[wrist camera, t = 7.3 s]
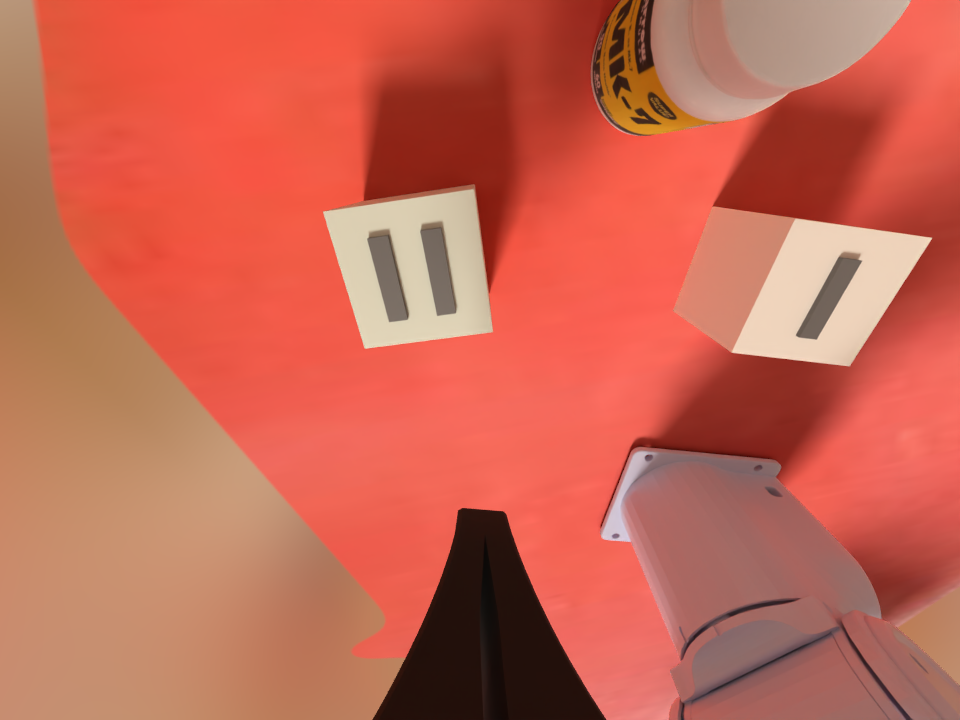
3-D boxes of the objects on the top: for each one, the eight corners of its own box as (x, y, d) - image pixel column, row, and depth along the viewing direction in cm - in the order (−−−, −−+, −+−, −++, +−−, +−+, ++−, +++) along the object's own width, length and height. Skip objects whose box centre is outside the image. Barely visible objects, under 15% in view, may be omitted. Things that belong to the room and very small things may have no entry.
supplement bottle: (570, 30, 14) (679, -133, 7) (697, -47, 13) (994, -338, 6) (609, 159, 16) (726, 150, 8) (721, 101, 15) (964, 33, 8)
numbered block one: (814, 220, 17) (939, 239, 13) (764, 321, 19) (853, 368, 15) (711, 206, 17) (799, 219, 12) (672, 310, 19) (734, 354, 15)
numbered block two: (474, 184, 16) (474, 189, 12) (489, 293, 19) (493, 334, 14) (364, 200, 17) (320, 212, 12) (391, 306, 19) (363, 350, 14)
